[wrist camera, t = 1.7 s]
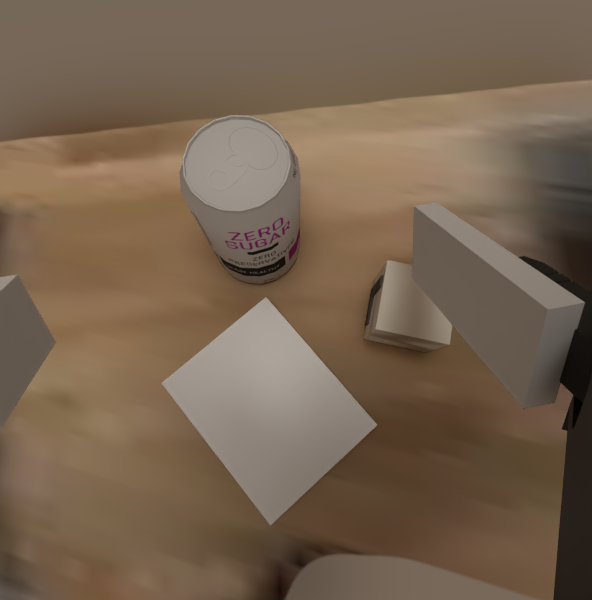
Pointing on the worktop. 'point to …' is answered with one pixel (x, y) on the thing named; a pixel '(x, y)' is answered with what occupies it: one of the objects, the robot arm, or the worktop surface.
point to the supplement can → (245, 195)
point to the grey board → (269, 409)
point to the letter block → (404, 312)
